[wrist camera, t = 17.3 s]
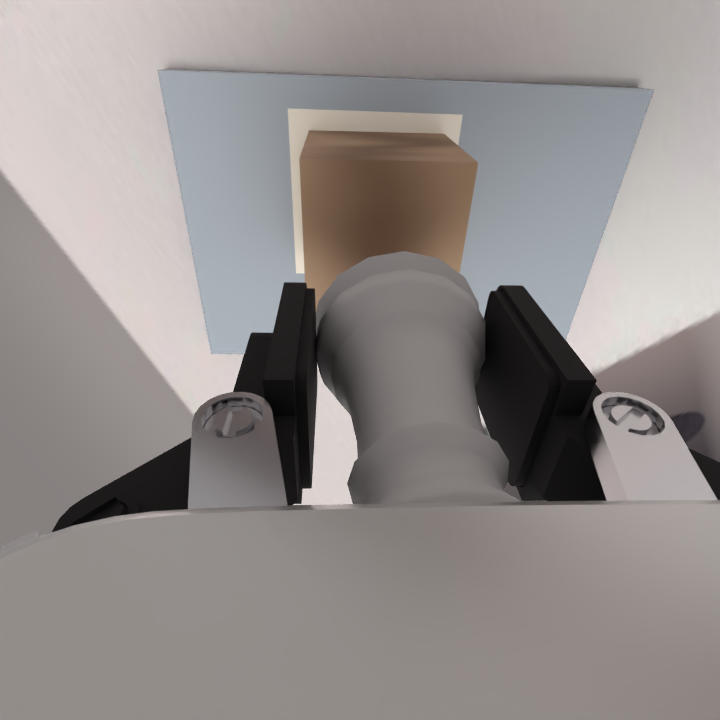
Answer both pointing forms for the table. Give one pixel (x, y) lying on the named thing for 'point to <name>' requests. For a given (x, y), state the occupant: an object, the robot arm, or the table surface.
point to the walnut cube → (381, 199)
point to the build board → (402, 115)
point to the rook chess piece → (410, 381)
